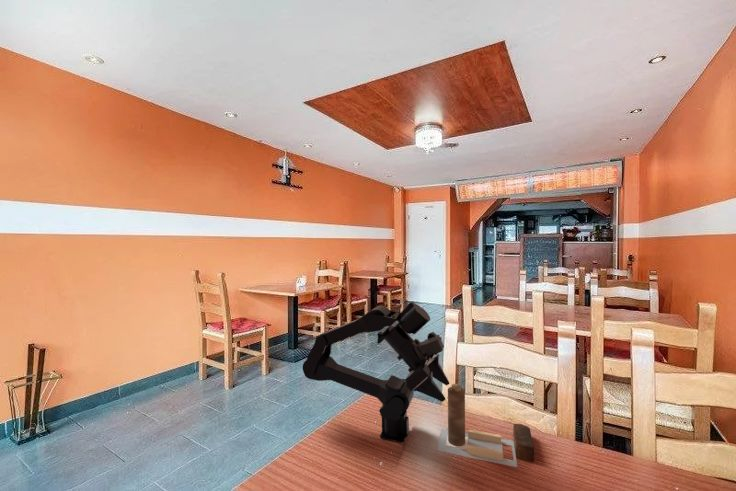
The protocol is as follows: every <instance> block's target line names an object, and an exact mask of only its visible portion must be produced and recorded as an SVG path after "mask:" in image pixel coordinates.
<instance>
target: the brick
mask: <svg viewBox="0 0 736 491" xmlns="http://www.w3.org/2000/svg"><path fill="white" fill-rule="evenodd" d="M512 430H513V432H512V433H513V434H512V435H513V441H514V447H515V454H516V460H523V461H528V462H534V461H535V446H534V442H533V436H532V433H531V432H532V431H531V429H530V427H528V426H527V425H524V424H523V423H514V424H513V428H512Z"/></svg>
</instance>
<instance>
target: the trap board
mask: <svg viewBox="0 0 736 491" xmlns="http://www.w3.org/2000/svg"><path fill="white" fill-rule="evenodd" d="M438 438H439V439H438V441H437V442H438V443H437V447H436V451H438V452H442V453H447V454H452V455H457V456H460V457H465V458H470V459H474V460H480V461H485V462H488V463H489V462H490V463H495V464H498V465H504V466H509V467H514V468H518V462H517V458H516V452H515V443H514V440H509V439H505V438H504V439H503V438H502V434H496V433H491V432H485V431H481V430H480V431H479V430H473V429H468V430H467V432H466V431H465V444H464V445H463V446H454V445H452V444H450V443H449V441H448V428H445V427H441V428H440V434H439V437H438ZM503 445H504V446H511V450H512V457H513V459H510V458H504V448H503Z"/></svg>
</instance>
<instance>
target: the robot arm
mask: <svg viewBox="0 0 736 491" xmlns="http://www.w3.org/2000/svg"><path fill="white" fill-rule="evenodd" d="M430 321H431V317H430V314H429V313H428V312H427V310H425V308H424V307H421V306H420V305H419V304H417V303H415V302H414V301H410V302H408V304H407V305H406V307H405V308H404V309H402V311H398V310H390V309H389V308H388V307H387V306H384V305H378V306H376V307H374V308H373V309H370V311H368V312H367V313H365V314H363V315H362V316H360V317H359V318H357V319H355V320H354V319H353V321H350V322H347V323H345V324H343V325H340V326H337V327H335V328H332V329H330V330H327V331H324V332H322V333H320V334H319V335H317V336H316V337H315V341H314V343H313V345H312V347H311V350H309V353H308V355H307V358H306V360H305V361H304V362H303V363H302V372H303V374H304V376H305V378H307V379H309V380H314V381H316V382H317V381H318V382H322V381H323V382H324V381H332V382H335V383H337V384H340V385H343V386H344V387H348V388H351V389H352V390H356V391H359V392H361V393H364V394H366V395H369V396H371V397H375V398H376V399H378V400H379V402H380V403H381V404H382V405H381V406H380V408H379V414H380V418H381V432H380V434H379V438H380V439H382V440H388V441H393V442H397V443H404V442H405V439H406V437H408V435H409V432H410V421H409V419H410V418H409V416H408V414H407V413H408V409H409V407H410V404H411V403H412V400H413V398H414V396H415V392H418V393H419V394H420V393H421V394H424V395H426V396H428V397H431V398H433V399H436V400H437V401H440V402H442V403H443V402H445V401H446V397H445V396H444V394H443V393H442V391H441V389H440V388H439V387H438V386H437V384H436V382H435V381H434V380H433V378H434V379H435V380H437V381H438V382H440V383H441V384H443V385H445V386H449V385H450V381H449V380H448V377H447V375H446V373H445V372H444V370H443V368H442V366H441V365H440V353H441V352H442V353H443V350H444V348H445V345H444V343H443V341H442V336H440V334H436V333H435V331H432V332H431V331H430V332H429V333H428V334H427V336H426V337H427V339H424V340H422V341H420V340H419V339H418V338H415V339H414V338H413V337H411V334H412V335H416V334H418V332H419V331H420V330H421V329H423V327H425V326H426V325H427V324H428V323H429V322H430ZM396 322H397V324H395V323H396ZM394 324H395V326H394ZM385 327H386V328H385ZM383 329H385V330H384V331H382V330H383ZM375 332H377V334H376V335H377V342H376V344H377V345H380V344H381V343H382V342H383V341H385V342H386V343H387V344H388V345H389V347H390V348H392V350H393V351H394V352H395V353H396V354H397V357H396V358H397V359H398V361H401V360H402V361H403V362H404V363H405V364H406V366H407V367H408V369H407V371H408V372H409V373H408V374H407V376H406V377H405V378H399V377H397V376H396V375H393V374H392V375H391V374H390V376H389V378H388V379H380V378H378V377H375V376H372V375H369V374H367V373H364V372H361V371H358V370H356V369H353V368H349V367H346V366H345V365H341V364H339V363H337V361H336V360H335V359H334V358H333V357H331V354H332V346H333V344H336V343H339V342H342V341H343V340H346V339H349V338H352V337H353V336H356V335H358V334H363V333H369V334H370V333H375Z"/></svg>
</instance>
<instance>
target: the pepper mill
mask: <svg viewBox="0 0 736 491" xmlns="http://www.w3.org/2000/svg"><path fill="white" fill-rule="evenodd" d="M447 429H448V441H449V443H450V444H452V445H454V446H463V445H464V444H465V432H466V390H465V389H464V388H463V387H462V385H460V384H459V383H452V384H451V386H449V387H448V388H447Z"/></svg>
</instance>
